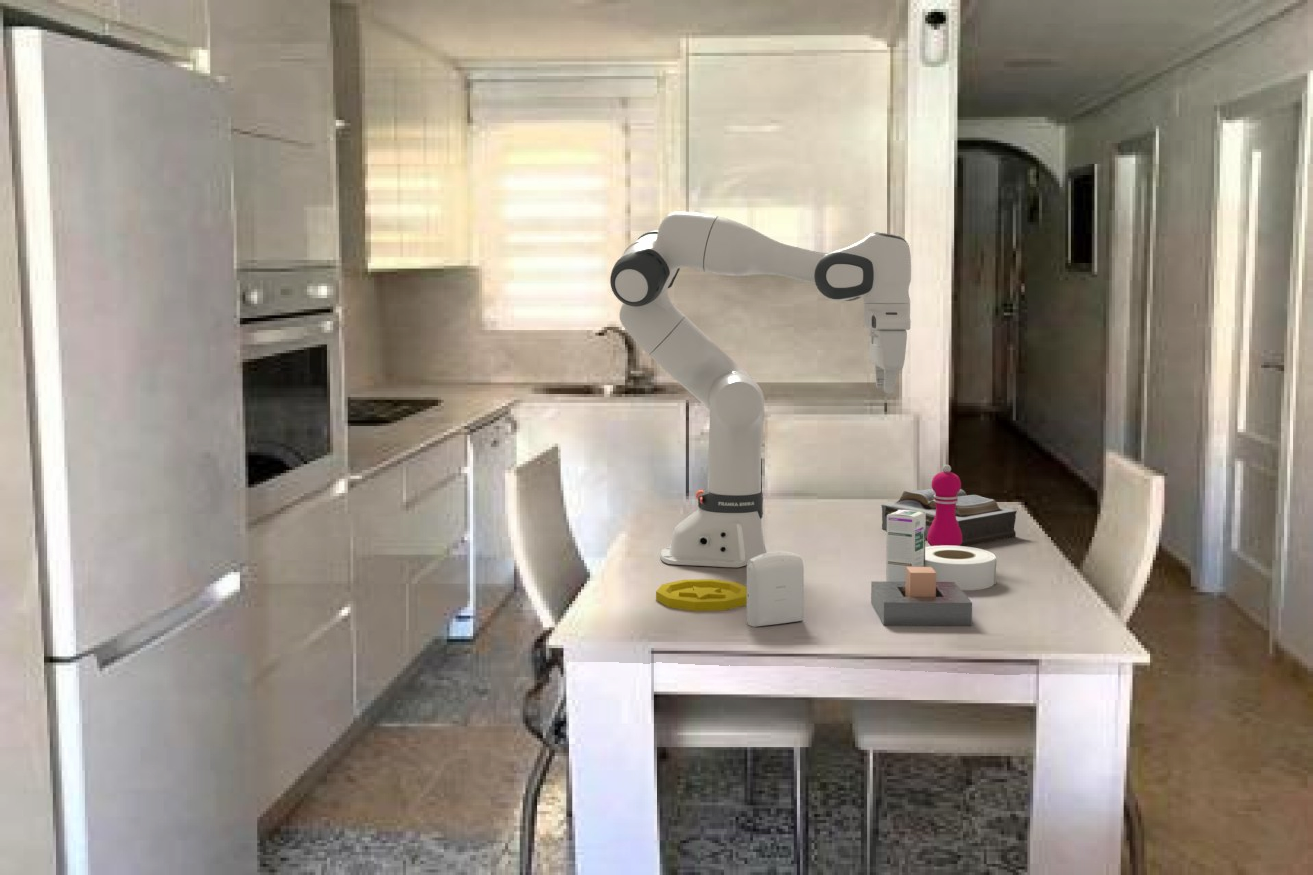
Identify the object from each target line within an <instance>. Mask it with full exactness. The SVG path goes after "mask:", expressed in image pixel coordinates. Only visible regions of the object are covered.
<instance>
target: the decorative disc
mask: <svg viewBox="0 0 1313 875" xmlns="http://www.w3.org/2000/svg"><path fill="white" fill-rule="evenodd" d="M655 600H656V602H658V603H661V604H662V605H663V606H665V607H667V608H673V609H677V610H679V609H680V610H686V611H692V612H705V611H706V612H708V611H710V612H711V611H713V612H715V611H727V610H731V609H735V608H736V609H737V608H739V607H744V606H747V586H745V585H744V584H741V583H738V582H736V581H735V582H734V581H728V580H721V579H715V578H714V579H713V578H706V579H705V578H704V579H703V578H701V579H696V578H695V579H680V580H675V581H671V582H667V583H662V584H661V585H659V587H658V589H656V590H655Z"/></svg>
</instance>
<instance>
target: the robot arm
mask: <svg viewBox="0 0 1313 875" xmlns="http://www.w3.org/2000/svg"><path fill="white" fill-rule="evenodd" d="M911 256H912V255H911V249H910V244H909V243H908V241H907V240H906V239H905V238H903V237H902V236H900V235H895V234H889V233H885V232H877V231H875V232H871V233H869V234H868V235H867V236H865V237H864V238H862V239H861V240H859V241H856V242H855V243H853V244H851V245H849V246H846V247H844V248H843V247H842V248H840V249H838V250H834V251H832V252H821V251H815V250H810V249H806V248H801V247H799V246H794V245H789V244H785V243H782V242H779V241H777V240H775V239H772V238H770V237H768V236H767V235H765V234H763V233H762V232H759V231H758V230H755V229H753V228H752V227H750V226H747V225H745V224H743V223H740V222H738V221H736V220H732V219H729V218H725V217H724V216H723V217H722V216H717V215H715V214H708V213H703V212H702V213H701V212H694V211H672V212H670V213H669V214H667V215H666V216H665V217H664V218H663V219H662V221H661V222H660V225H659V227H658V229H657V230H652V231H651V230H650V231H649V232H646V233H643V234H642V235H640V236H639V237H638V238H637V239H636V240H635V241H633V243H631V244H630V245H629V246H628V247H627V248H626V249H625V250H624V251H623V253H622V255H621V257H620V258H619V259H617V261H616V262H615V264H614V266H613V268H612V269H611V273H610V278H609V282H610V287H611V292H612V293H613V295H614V296H615V297H616V299H617V300H618V301H620V302H621V303H622V305H621V307H620V311H619V320H620V323H621V325H622V326H623V327H624V329H625V330H626V332H627V333H628V334H629V336H630V337H631V338H632V339H633V340H634V341H635V343H636V344H637V345H638V346H639V347H640V348H641V349H642V350H643V351H644V352H645V353H647V355H648V356H649V357H650V358H651V359H652V360H654V362H656V363H657V364H658V365H659V366H660V367H661V368H662V369H663V370H664V371H665V372H667V373H668V375H670V376H671V377H672V378H673V379H674V380H675V381H676V382H677V383H678V384H680V386H682V387H683V388H684V389H686V391H688V392H689V393H690V394H691V395H693V397H695V398H696V399H697V400H698V401H699V402H701V404H702V405H703V406H705V408H707V409H708V410H709V430H708V432H709V433H708V450H707V451H708V454H707V456H708V457H707V458H708V460H707V461H708V462H707V463H708V464H707V465H708V466H707V467H708V468H707V470H708V471H707V477H708V478H707V490H706V491H704V490H703V489H699V490H697V491H696V493H695V497H696V499H697V507H698V509H697V510H694V512H693V513H691V514H690V515H689V516H687V517H685V519H683V520H682V521H680V522H679V523H677V525H676V526H675V528H674V530H673V532H672V535H671V541H670V545H669V546H666V547H664V548H662V550H661V551H660V560H661V561H662V562H663V563H665V564H668V565H676V566H677V565H679V566H701V567H716V568H717V567H720V568H741V567H744V566H745V567H746V566H747V563H748V561H749V560H750V559H752V558H754V557H756V556H758V555H761V554H764V553H768V552H767V549H766V544H765V540H764V539H765V537H764V532H763V524H762V523H763V522H762V520H763V515H764V492H763V491H762V450H763V449H762V447H763V434H764V421H765V420H764V417H765V416H764V415H765V396H764V393H763V391H762V388H761V387H760V386H759V384H758V383H757V382H756V380H754V379H753V378H752V377H751V375H749V374H748V373H747V372H746V371H745V370H744V369H743V368H742V367H741V366H740V365H739V364H738V363H736V361H734V359H732V358H731V357H730V356H729V354H727V353H726V352H725V351H724V350H723V349H721V348H720V347H719V346H718V345H717V344H716V343H715V342H714V341H713V340H712V339H711V338H710V337H709V336H708V335H707V334H705V333H704V332H703V331H702V330H701V329H700V328H699V327H698V326H697V325H696V324H695V323H694V322H692V321H691V319H690V318H689V317H687V316H686V315H685V314H684V313H683V312H682V311H681V310H679V309H678V308H677V306H675V305H674V303H673V302H672V300H671V299H670V297H669V295H668V294H669V293H668V291H669V290H668V289H670V288H672V287H673V284H674V282H675V280H676V278H677V276H678V274H679V272H680V270H681V268H687V269H688V268H689V269H694V270H698V271H701V272H705V273H708V274H709V273H710V274H714V275H720V276H730V277H747V276H756V275H773V276H774V275H775V276H781V277H784V278H789V279H792V280H793V279H794V280H797V281H802V282H805V283H809V284H813V285H815V286H816V288H817V290H818V291H819V292H820V294H822V295H823V296H824V297H826V298H828V299H830V300H832V301H836V302H838V301H839V302H841V301H842V302H843V301H844V302H852V301H856V300H859V299H861V298H862V299H863V309H862V310H863V314H862V315H863V316H862V317H863V320H862V326H863V328H867V329H869V348H868V349H869V351H868V352H869V354H868V356H869V357H868V359H869V362H870V363H871V364H873V365H874V371H875V372H874V373H875V378H876V379H875V381H876V382H875V386H876V388H877V389H883V392H884V393H886V394H893V393H895V384H896V379H897V371H902V370H903V368H904V365H905V360H906V353H907V352H906V350H907V341H908V340H907V339H908V332H907V331H910V329H911V323H912V322H911V298H910V294H909V292H910V291H909V290H910V284H911V281H912V257H911Z"/></svg>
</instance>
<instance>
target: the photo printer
mask: <svg viewBox="0 0 1313 875" xmlns="http://www.w3.org/2000/svg"><path fill="white" fill-rule="evenodd" d="M804 568H805V567H804V561H803V558H802V557H801V555H800V554H799V555H798V554H797V553H795V552H789V551H769V552H767V553H764V554H761V555H758V556H756V557H754V558H752V559H750V560H749V561H748V563H747V565H746V587H747V604H746V620H747V621H746V622H747V624H748V626H751V627H753V628H755V627H757V628H758V627H763V626H770V625H771V626H773V625H781V624H787V623H794V622H795V623H796V622H802V621H803V620H804V601H805V600H804V597H805V596H804V592H805V591H804V590H805V589H804V588H805V587H804V586H805V584H804V583H805V582H804V580H805V578H804V577H805V576H804V573H805V572H804V571H805V570H804Z"/></svg>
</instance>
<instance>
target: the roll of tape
mask: <svg viewBox="0 0 1313 875" xmlns="http://www.w3.org/2000/svg"><path fill="white" fill-rule="evenodd" d="M997 561H998V560H997V557H996V555H995V553H993V552H991V551H989V550H986V549H982V548H978V547H971V546H948V545H941V546H930V545H929V546H925V567H932V568H933V569H934V571H935V572H936V582H955V583H956V585H957V586H958V587H959V588H960V589H961V590H962V591H976V590H977V591H979V590H984V589H988V588H991V587H992V586H994V585H997V584H996V583H997Z"/></svg>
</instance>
